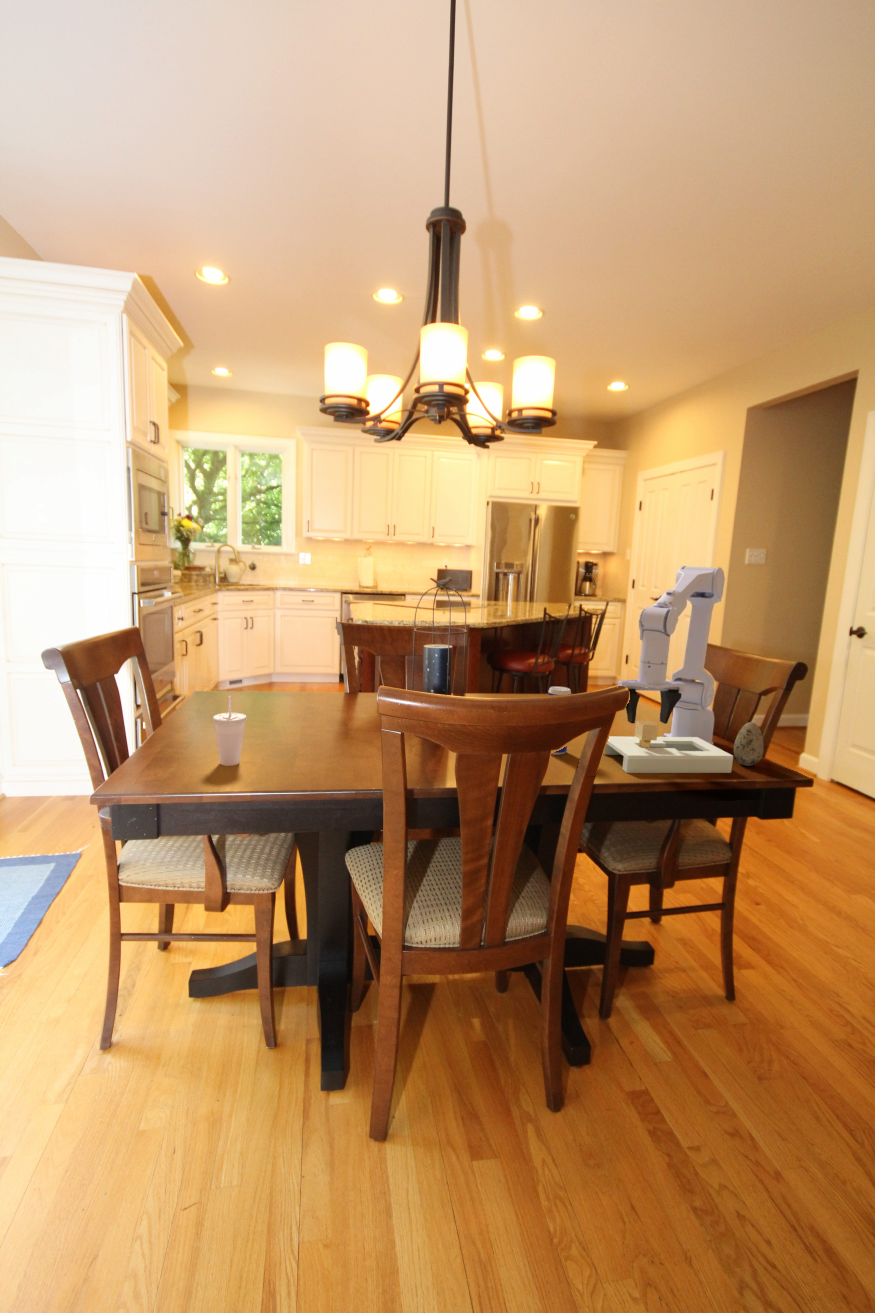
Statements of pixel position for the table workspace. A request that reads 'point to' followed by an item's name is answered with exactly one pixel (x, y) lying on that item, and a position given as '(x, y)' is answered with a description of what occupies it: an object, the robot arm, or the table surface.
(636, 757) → the keyhole plate
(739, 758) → the decorative egg
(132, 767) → the table surface
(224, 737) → the smoothie
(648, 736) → the keyhole peg
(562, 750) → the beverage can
